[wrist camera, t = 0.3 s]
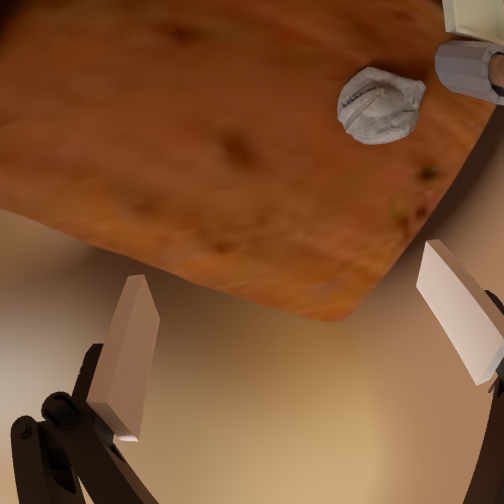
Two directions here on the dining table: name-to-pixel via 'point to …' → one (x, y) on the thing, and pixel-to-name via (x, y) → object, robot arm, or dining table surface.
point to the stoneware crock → (468, 69)
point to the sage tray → (475, 19)
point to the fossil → (379, 106)
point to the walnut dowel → (496, 70)
